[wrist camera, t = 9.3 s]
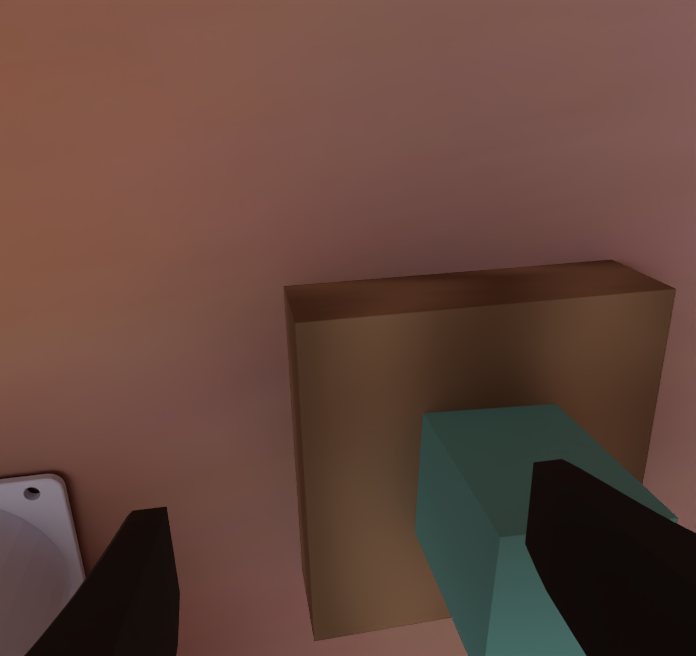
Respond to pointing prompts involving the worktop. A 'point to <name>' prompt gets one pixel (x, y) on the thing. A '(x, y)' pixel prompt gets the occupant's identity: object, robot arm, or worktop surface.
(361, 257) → the worktop surface
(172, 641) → the robot arm
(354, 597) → the walnut base
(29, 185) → the worktop surface
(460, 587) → the teal block
